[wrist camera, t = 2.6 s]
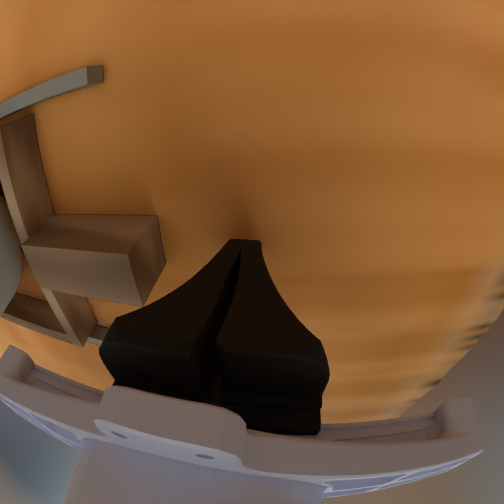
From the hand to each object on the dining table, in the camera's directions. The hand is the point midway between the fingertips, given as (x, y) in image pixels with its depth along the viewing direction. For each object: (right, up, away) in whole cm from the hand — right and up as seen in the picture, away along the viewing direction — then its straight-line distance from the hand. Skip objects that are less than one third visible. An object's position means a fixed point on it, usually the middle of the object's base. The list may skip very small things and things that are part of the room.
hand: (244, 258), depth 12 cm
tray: (-17, +2, +2) cm, 17 cm away
